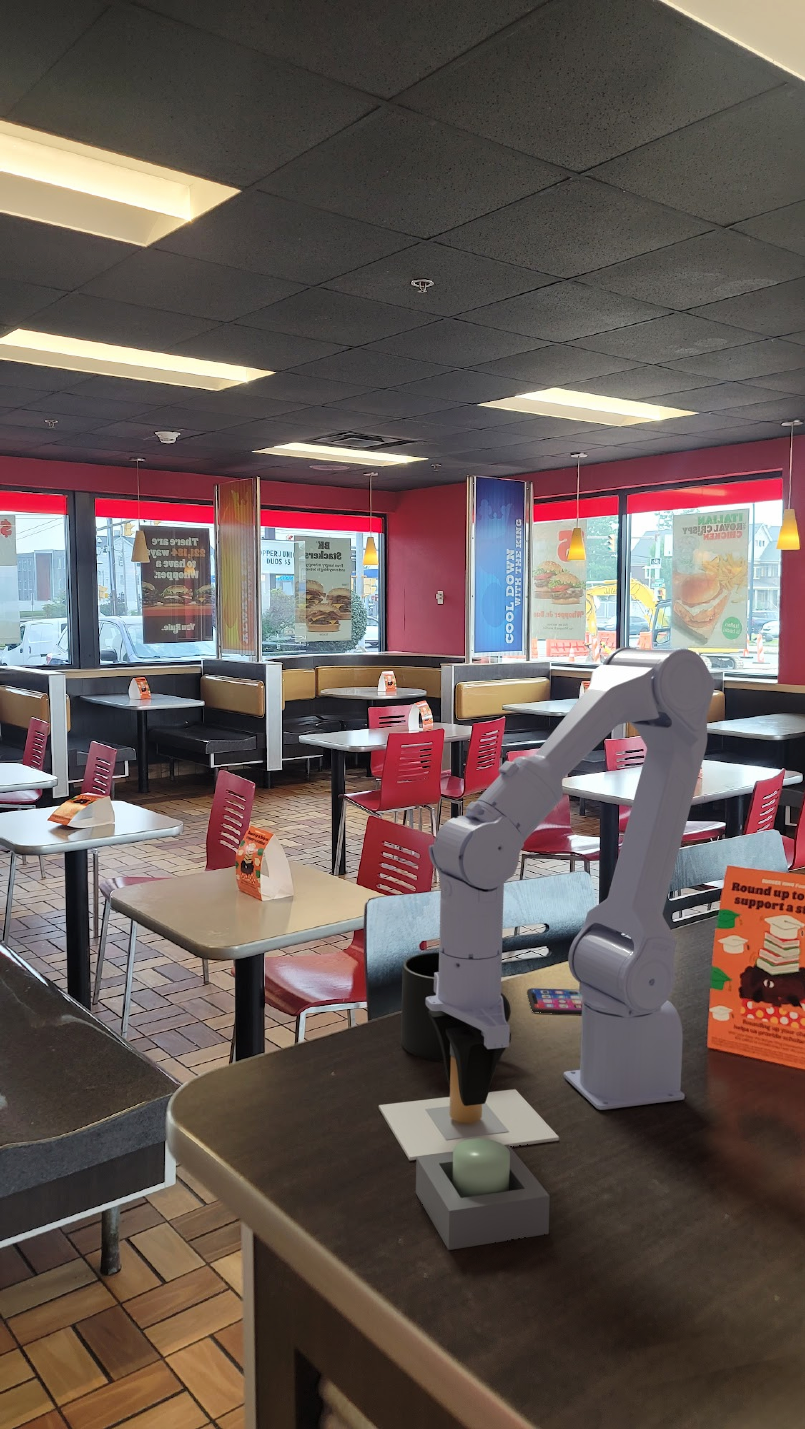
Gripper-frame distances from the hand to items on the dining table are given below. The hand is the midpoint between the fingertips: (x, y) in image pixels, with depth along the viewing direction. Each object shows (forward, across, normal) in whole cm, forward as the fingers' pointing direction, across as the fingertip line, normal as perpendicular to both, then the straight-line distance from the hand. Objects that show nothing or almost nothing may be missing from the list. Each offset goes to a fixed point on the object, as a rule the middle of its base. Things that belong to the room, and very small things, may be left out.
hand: (466, 1094), depth 95 cm
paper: (+3, 0, 0) cm, 3 cm away
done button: (+1, +14, -4) cm, 15 cm away
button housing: (+3, +14, -4) cm, 15 cm away
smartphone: (+3, -26, +26) cm, 36 cm away
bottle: (+2, 0, 0) cm, 2 cm away
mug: (+3, -17, +5) cm, 18 cm away
